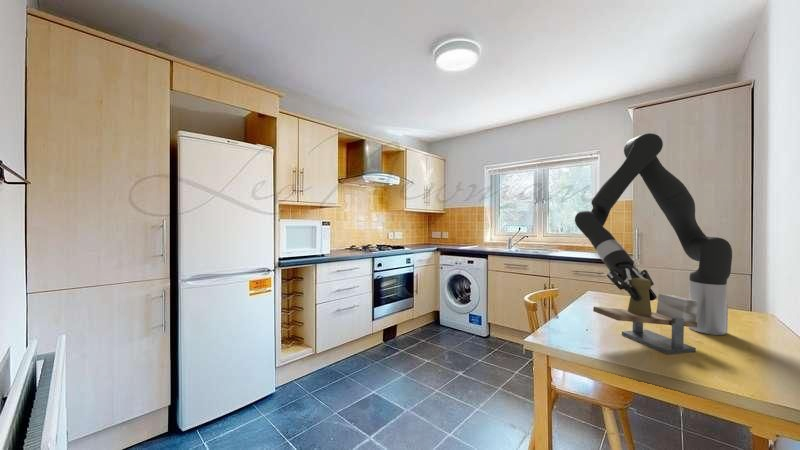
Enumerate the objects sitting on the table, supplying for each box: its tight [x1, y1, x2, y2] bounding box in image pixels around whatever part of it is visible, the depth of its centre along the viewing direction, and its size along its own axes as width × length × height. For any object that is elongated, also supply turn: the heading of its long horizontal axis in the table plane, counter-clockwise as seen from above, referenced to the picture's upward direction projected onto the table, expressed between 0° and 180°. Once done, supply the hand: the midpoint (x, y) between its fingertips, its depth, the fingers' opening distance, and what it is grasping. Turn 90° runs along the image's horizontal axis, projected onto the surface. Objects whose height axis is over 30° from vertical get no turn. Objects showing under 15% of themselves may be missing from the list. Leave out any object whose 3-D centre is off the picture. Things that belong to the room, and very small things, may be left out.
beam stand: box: [621, 317, 697, 355], centre depth 96 cm, size 10×15×10 cm, turn 9°
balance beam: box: [592, 293, 698, 328], centre depth 96 cm, size 28×11×8 cm, turn 100°
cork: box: [627, 278, 652, 316], centre depth 95 cm, size 6×6×11 cm
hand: (646, 299), depth 93 cm, fingers closed on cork, 4 cm apart
